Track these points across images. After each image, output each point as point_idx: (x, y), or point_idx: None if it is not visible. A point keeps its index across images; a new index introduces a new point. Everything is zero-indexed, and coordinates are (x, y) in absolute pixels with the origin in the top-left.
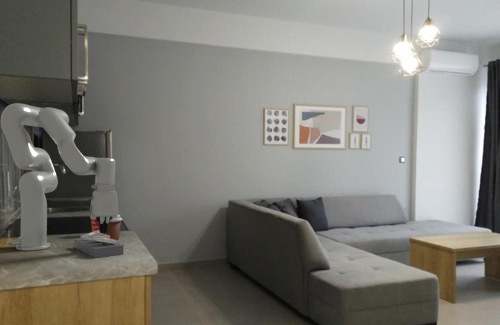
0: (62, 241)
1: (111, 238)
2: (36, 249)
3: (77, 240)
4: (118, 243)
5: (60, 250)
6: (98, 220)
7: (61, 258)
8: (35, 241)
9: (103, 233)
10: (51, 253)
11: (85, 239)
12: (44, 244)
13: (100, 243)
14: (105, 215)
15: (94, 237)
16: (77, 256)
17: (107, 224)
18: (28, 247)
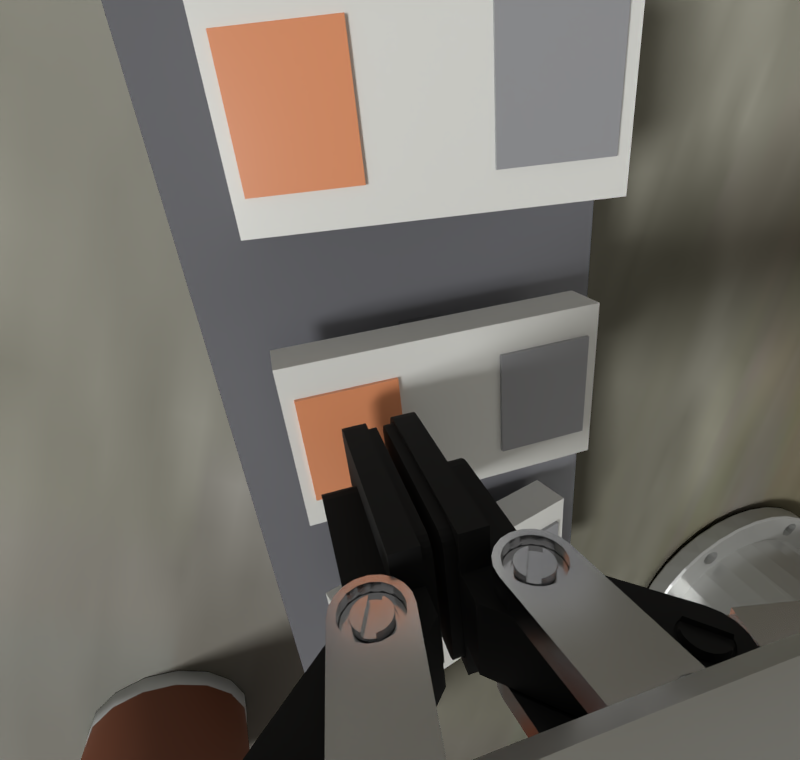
0: (520, 738)
1: (176, 715)
2: (748, 513)
3: (569, 535)
4: (139, 114)
5: (637, 468)
6: (642, 600)
7: (767, 125)
8: (794, 570)
9: (329, 597)
10: (724, 382)
11: (535, 488)
12: (702, 584)
13: (420, 264)
14: (638, 723)
15: (628, 114)
16: (638, 140)
17: (347, 582)
18: (788, 534)
